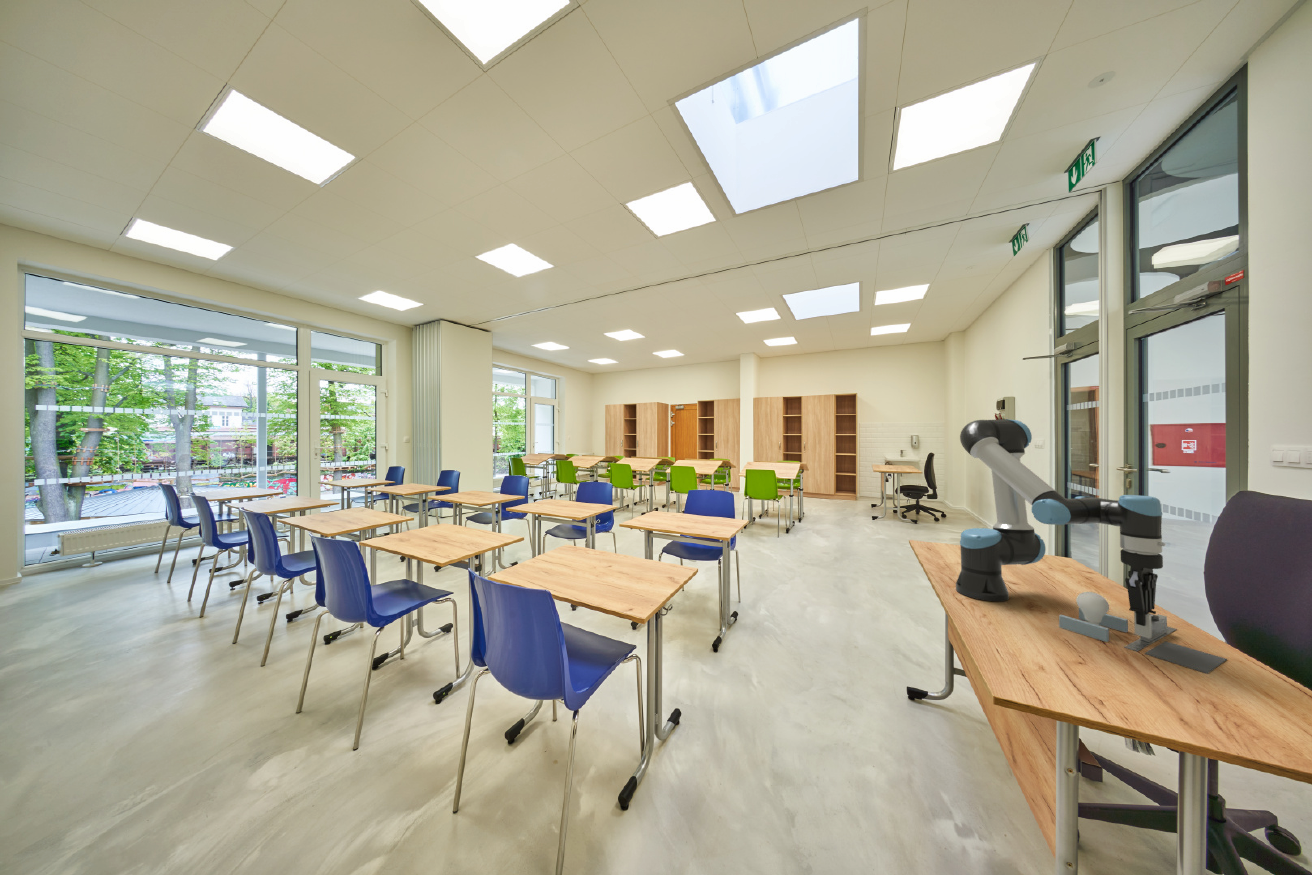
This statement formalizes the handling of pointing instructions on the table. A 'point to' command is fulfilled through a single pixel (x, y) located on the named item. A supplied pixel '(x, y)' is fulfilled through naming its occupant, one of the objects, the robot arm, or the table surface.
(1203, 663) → the mat
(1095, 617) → the light bulb
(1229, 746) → the table surface
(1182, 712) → the table surface
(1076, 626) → the channel
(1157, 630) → the latch bar
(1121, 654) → the table surface
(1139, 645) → the track
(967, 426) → the robot arm
